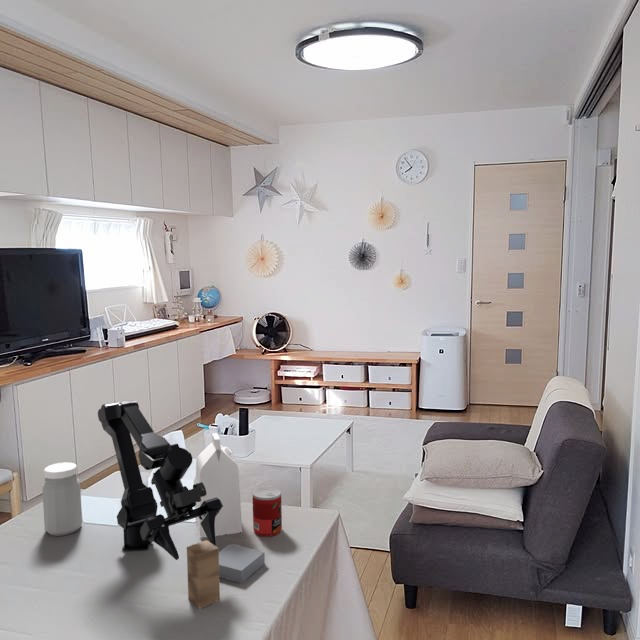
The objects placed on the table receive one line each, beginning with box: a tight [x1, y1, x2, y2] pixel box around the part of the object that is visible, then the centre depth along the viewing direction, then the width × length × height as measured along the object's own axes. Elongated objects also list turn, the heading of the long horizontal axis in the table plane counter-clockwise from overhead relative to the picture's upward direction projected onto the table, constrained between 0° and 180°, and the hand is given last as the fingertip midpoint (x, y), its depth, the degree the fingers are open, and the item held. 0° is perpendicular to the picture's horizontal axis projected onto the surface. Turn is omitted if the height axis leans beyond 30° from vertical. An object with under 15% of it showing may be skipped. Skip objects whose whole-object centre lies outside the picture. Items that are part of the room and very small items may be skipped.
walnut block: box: [186, 539, 221, 609], centre depth 134 cm, size 5×5×12 cm
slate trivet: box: [219, 543, 266, 584], centre depth 148 cm, size 10×10×3 cm
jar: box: [41, 461, 83, 537], centre depth 169 cm, size 10×10×18 cm
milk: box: [195, 432, 243, 539], centre depth 170 cm, size 12×12×26 cm
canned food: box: [252, 487, 283, 538], centre depth 168 cm, size 8×8×11 cm
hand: (196, 552), depth 136 cm, fingers open, 9 cm apart
